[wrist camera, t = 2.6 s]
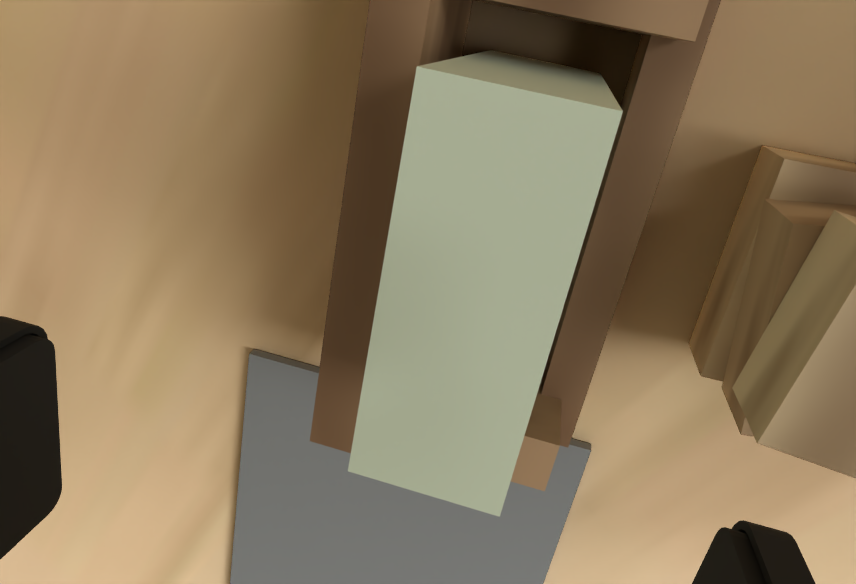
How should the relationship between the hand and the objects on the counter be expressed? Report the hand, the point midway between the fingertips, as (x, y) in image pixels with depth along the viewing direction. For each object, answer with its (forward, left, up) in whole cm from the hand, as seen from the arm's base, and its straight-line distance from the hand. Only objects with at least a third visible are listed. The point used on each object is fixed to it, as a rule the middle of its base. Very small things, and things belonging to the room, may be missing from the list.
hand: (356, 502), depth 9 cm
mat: (+2, +18, -18) cm, 25 cm away
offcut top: (-11, 0, -12) cm, 17 cm away
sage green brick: (0, 0, -18) cm, 18 cm away
